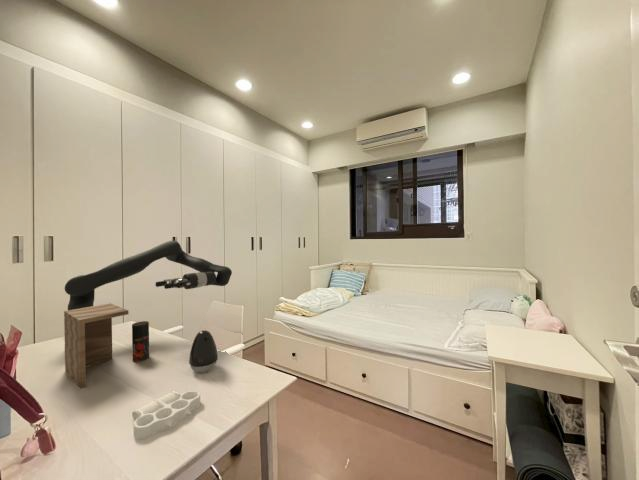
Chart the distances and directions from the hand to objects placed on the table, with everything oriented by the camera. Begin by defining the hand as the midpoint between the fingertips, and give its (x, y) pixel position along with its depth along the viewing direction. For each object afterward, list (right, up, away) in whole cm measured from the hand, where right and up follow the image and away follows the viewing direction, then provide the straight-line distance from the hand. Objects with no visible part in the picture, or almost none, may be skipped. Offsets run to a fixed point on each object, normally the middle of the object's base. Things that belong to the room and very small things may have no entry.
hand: (160, 285), depth 120 cm
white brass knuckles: (+27, -31, -42) cm, 59 cm away
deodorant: (-5, -30, -6) cm, 31 cm away
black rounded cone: (+27, -30, -16) cm, 43 cm away
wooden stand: (-14, -30, -17) cm, 37 cm away
